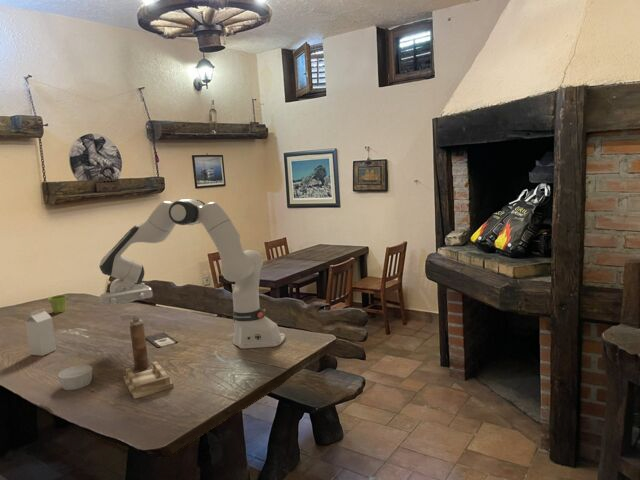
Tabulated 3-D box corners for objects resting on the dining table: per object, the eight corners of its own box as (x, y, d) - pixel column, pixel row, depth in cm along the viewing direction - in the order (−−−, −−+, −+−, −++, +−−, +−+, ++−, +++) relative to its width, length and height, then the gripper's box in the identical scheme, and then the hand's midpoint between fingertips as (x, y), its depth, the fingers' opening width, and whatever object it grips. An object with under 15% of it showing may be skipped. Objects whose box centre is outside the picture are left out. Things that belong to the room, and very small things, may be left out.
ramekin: (70, 394, 161) (68, 380, 160) (53, 388, 167) (51, 374, 166) (100, 381, 171) (98, 367, 170) (82, 376, 176) (81, 362, 176)
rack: (124, 380, 170) (122, 370, 169) (160, 370, 177) (159, 360, 176) (134, 398, 155) (132, 387, 154) (173, 387, 162) (172, 376, 161)
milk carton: (56, 350, 206) (50, 308, 204) (42, 356, 200) (35, 313, 197) (44, 349, 209) (38, 307, 206) (30, 355, 202) (23, 312, 199)
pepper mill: (151, 364, 183) (145, 314, 181) (144, 369, 178) (137, 318, 176) (139, 364, 184) (133, 314, 181) (132, 369, 179) (125, 318, 177)
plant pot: (57, 309, 277) (55, 295, 275) (72, 309, 275) (70, 294, 274) (46, 314, 267) (44, 299, 266) (61, 314, 266) (59, 299, 265)
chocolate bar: (163, 332, 221) (177, 341, 207) (164, 334, 221) (178, 343, 207) (144, 337, 215) (157, 346, 201) (144, 339, 216) (157, 349, 201)
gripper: (96, 290, 195) (100, 296, 183) (147, 282, 205) (154, 287, 193) (98, 304, 195) (102, 312, 184) (149, 296, 206) (155, 302, 194)
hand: (129, 299), depth 188 cm, fingers open, 8 cm apart
